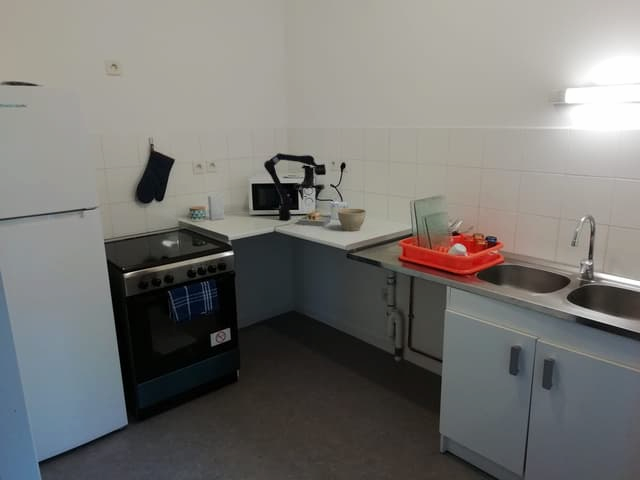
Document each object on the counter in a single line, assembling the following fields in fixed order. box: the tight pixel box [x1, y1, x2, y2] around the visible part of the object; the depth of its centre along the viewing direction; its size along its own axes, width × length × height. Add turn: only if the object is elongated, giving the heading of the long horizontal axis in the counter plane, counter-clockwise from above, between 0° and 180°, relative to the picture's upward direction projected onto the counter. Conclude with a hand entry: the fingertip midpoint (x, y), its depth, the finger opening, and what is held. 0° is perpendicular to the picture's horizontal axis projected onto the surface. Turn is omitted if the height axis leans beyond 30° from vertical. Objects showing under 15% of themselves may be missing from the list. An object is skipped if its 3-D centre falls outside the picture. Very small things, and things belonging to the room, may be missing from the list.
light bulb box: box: [330, 201, 348, 220], centre depth 317 cm, size 11×7×11 cm, turn 84°
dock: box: [298, 215, 331, 227], centre depth 303 cm, size 16×13×3 cm
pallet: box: [306, 210, 323, 220], centre depth 302 cm, size 6×10×4 cm, turn 161°
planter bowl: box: [338, 208, 367, 232], centre depth 286 cm, size 16×16×11 cm
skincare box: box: [207, 193, 225, 222], centre depth 315 cm, size 8×7×16 cm
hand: (309, 200), depth 315 cm, fingers open, 9 cm apart
